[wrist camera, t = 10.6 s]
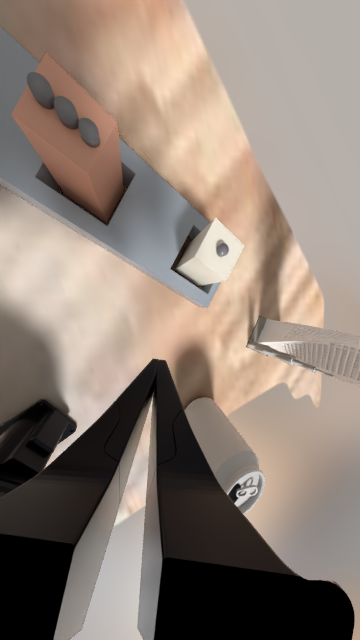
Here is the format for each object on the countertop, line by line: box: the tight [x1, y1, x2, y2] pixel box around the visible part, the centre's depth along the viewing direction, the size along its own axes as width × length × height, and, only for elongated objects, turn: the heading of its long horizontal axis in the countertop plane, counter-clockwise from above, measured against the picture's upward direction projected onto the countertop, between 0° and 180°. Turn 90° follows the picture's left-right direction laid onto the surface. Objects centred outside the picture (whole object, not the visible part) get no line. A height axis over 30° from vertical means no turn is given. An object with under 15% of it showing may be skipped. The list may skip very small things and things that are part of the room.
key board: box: [0, 26, 221, 308], centre depth 15 cm, size 38×10×3 cm, turn 61°
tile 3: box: [11, 52, 124, 223], centre depth 12 cm, size 4×4×8 cm
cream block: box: [175, 218, 244, 286], centre depth 17 cm, size 4×4×8 cm
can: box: [185, 397, 265, 514], centre depth 20 cm, size 8×8×12 cm
